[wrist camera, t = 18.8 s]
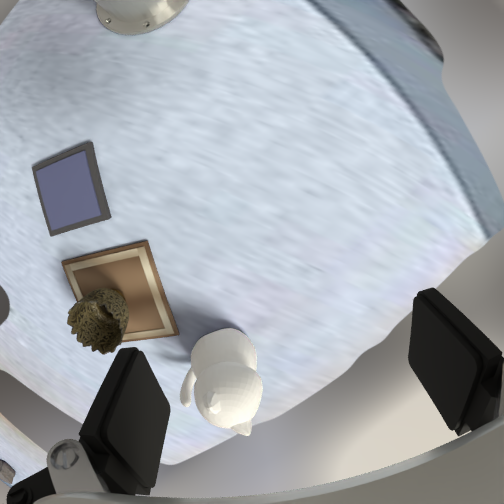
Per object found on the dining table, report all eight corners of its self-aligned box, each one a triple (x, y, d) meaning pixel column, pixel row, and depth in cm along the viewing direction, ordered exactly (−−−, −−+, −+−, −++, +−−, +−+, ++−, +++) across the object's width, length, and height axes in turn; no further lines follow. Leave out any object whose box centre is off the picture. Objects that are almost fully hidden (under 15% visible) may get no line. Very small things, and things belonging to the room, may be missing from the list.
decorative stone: (19, 470, 65) (-2, 455, 62) (13, 483, 59) (-8, 467, 56) (11, 473, 68) (-8, 459, 65) (6, 485, 62) (-14, 470, 59)
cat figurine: (273, 347, 43) (285, 427, 29) (209, 385, 46) (201, 462, 32) (233, 306, 41) (230, 384, 27) (168, 350, 43) (146, 427, 29)
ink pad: (35, 166, 33) (30, 167, 32) (92, 142, 33) (88, 142, 32) (53, 234, 37) (49, 237, 36) (111, 217, 36) (107, 219, 35)
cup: (119, 329, 41) (99, 363, 34) (83, 293, 39) (57, 322, 32) (150, 302, 40) (133, 336, 32) (112, 263, 38) (87, 290, 30)
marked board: (63, 261, 38) (60, 263, 37) (147, 240, 37) (146, 242, 37) (98, 343, 43) (96, 345, 42) (179, 333, 42) (178, 335, 42)
